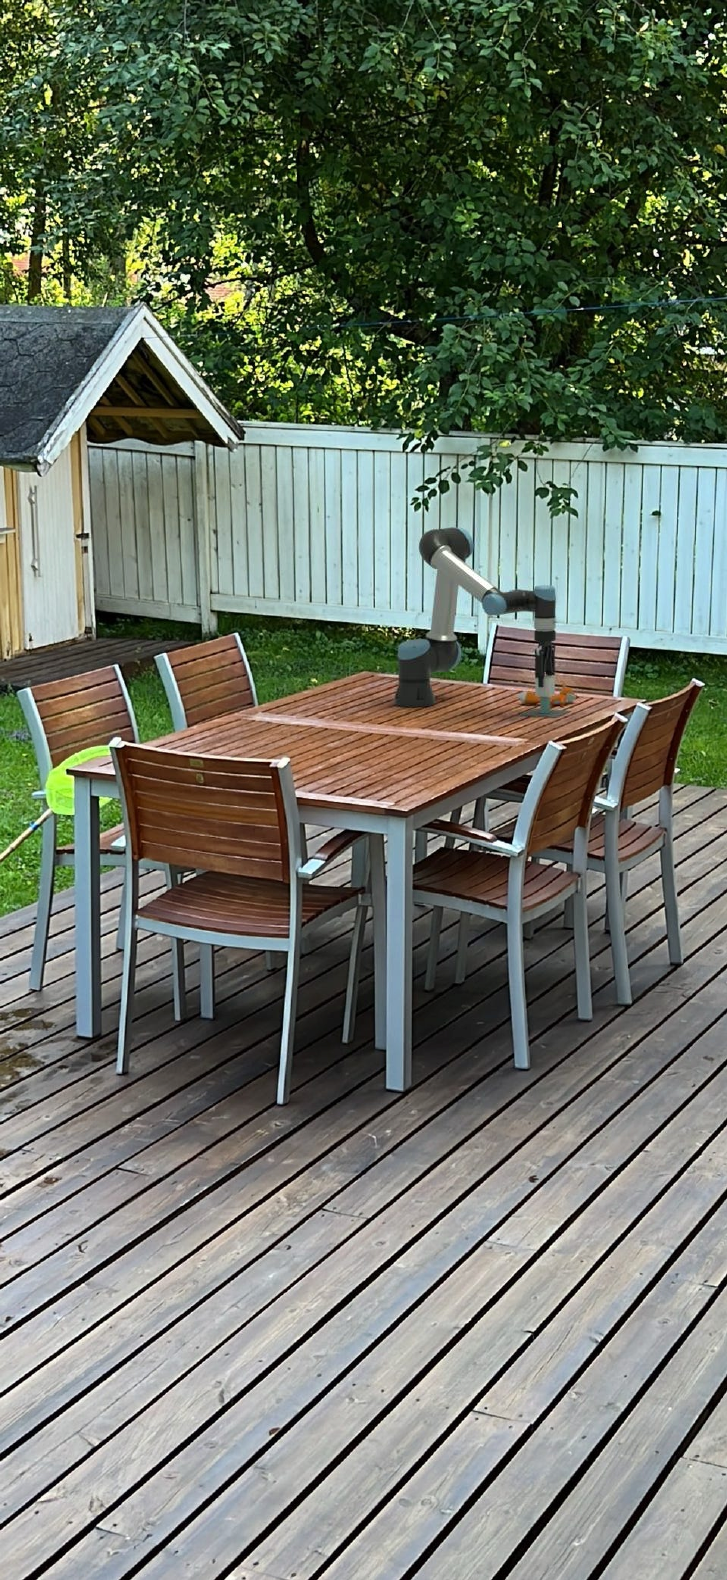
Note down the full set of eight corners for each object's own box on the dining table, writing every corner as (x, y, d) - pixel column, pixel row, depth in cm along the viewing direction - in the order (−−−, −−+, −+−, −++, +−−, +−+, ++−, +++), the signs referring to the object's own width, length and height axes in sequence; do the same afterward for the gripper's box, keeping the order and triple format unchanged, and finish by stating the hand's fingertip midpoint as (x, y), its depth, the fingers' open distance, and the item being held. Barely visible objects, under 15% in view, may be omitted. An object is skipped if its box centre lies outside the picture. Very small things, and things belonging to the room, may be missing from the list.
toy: (576, 694, 648) (577, 680, 662) (514, 694, 651) (516, 680, 664) (576, 715, 651) (577, 701, 665) (515, 715, 654) (516, 701, 668)
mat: (519, 715, 636) (519, 714, 636) (534, 709, 648) (534, 708, 648) (555, 717, 629) (555, 717, 629) (570, 711, 641) (570, 710, 641)
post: (540, 713, 638) (540, 694, 637) (543, 712, 640) (543, 693, 639) (547, 714, 637) (547, 694, 635) (549, 713, 639) (549, 693, 638)
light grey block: (535, 696, 636) (535, 677, 635) (541, 694, 641) (541, 675, 639) (548, 697, 634) (548, 678, 632) (554, 694, 638) (554, 676, 637)
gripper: (544, 633, 623) (544, 699, 628) (564, 627, 638) (564, 691, 643) (524, 632, 626) (525, 698, 631) (545, 626, 642) (545, 690, 647)
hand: (545, 694), depth 637 cm, fingers closed on light grey block, 5 cm apart
